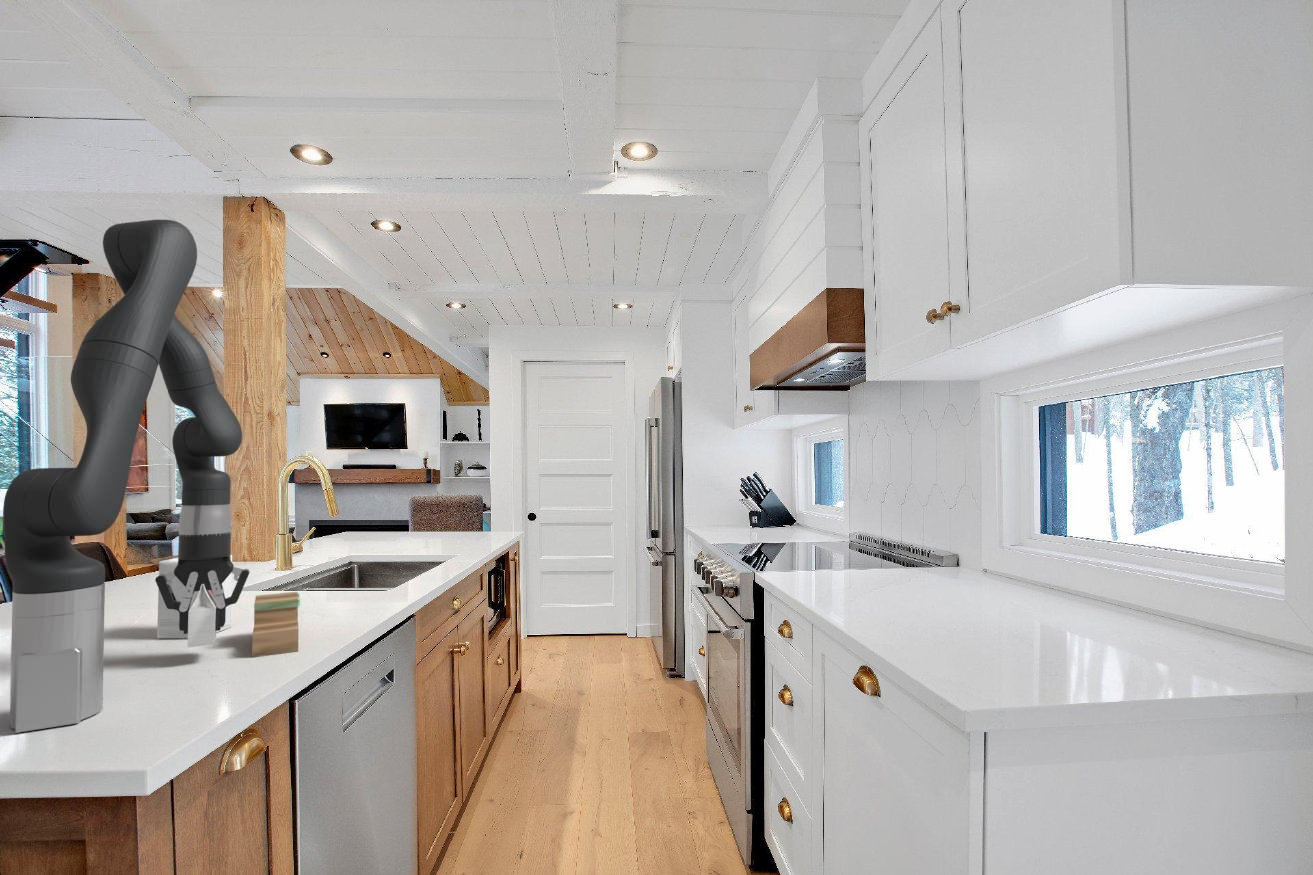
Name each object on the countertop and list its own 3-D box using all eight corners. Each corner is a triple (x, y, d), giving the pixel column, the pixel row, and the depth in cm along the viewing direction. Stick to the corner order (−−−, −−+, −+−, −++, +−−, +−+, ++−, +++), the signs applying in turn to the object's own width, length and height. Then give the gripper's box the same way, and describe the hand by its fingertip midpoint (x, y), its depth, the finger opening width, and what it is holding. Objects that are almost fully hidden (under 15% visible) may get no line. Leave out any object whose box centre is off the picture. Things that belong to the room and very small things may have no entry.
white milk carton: (215, 636, 117) (217, 579, 118) (214, 644, 112) (215, 584, 112) (190, 639, 115) (192, 581, 116) (187, 647, 110) (189, 586, 110)
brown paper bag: (300, 650, 118) (300, 605, 118) (252, 657, 114) (252, 610, 115) (298, 631, 131) (298, 591, 131) (255, 637, 127) (256, 595, 128)
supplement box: (201, 639, 126) (203, 560, 127) (155, 639, 126) (156, 561, 127) (233, 627, 135) (233, 553, 136) (189, 627, 135) (190, 554, 136)
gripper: (150, 534, 108) (146, 641, 107) (252, 530, 115) (249, 630, 114) (158, 531, 115) (155, 632, 114) (254, 527, 121) (252, 622, 120)
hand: (202, 630), depth 114 cm, fingers closed on white milk carton, 3 cm apart
